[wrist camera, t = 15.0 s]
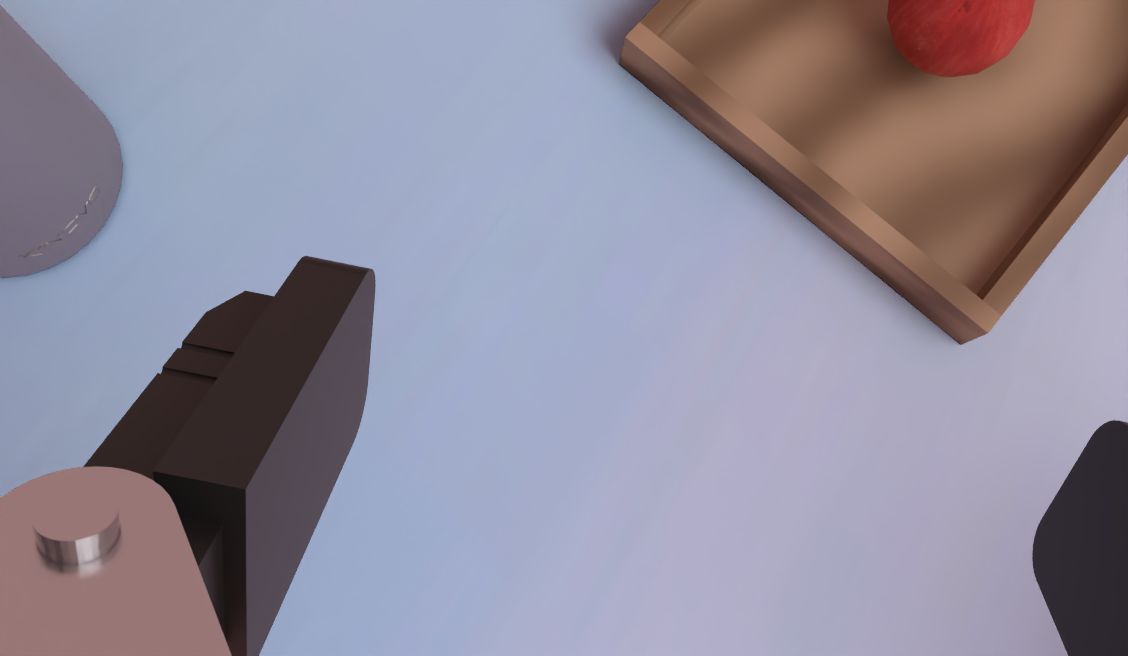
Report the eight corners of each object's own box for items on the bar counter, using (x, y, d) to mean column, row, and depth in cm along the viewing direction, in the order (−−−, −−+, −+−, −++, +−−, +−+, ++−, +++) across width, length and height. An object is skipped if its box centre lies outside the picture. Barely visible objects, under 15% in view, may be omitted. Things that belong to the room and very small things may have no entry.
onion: (838, 25, 45) (906, -82, 37) (937, -28, 46) (1024, -143, 38) (908, 127, 44) (993, 39, 36) (1008, 71, 45) (1112, -27, 37)
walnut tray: (618, 64, 45) (625, 37, 43) (874, -205, 49) (893, -244, 46) (960, 344, 43) (988, 333, 41) (1198, 41, 47) (1236, 14, 44)
